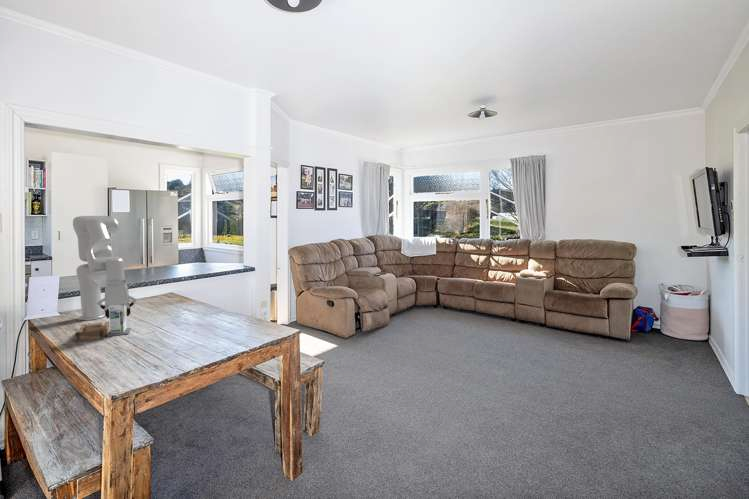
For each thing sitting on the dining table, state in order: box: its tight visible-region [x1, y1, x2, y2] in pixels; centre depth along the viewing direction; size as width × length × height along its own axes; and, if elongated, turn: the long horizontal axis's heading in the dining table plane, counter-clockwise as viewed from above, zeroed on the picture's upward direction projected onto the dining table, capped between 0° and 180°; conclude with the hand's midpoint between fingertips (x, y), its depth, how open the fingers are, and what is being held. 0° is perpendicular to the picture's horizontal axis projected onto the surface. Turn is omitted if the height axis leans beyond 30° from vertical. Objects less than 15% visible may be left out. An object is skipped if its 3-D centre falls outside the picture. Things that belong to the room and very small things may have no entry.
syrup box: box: [108, 304, 127, 333], centre depth 195 cm, size 6×6×14 cm
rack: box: [75, 321, 110, 343], centre depth 191 cm, size 16×11×4 cm
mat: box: [106, 327, 132, 337], centre depth 196 cm, size 10×9×1 cm
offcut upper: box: [86, 321, 104, 330], centre depth 195 cm, size 5×6×2 cm
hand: (118, 316), depth 195 cm, fingers open, 8 cm apart
